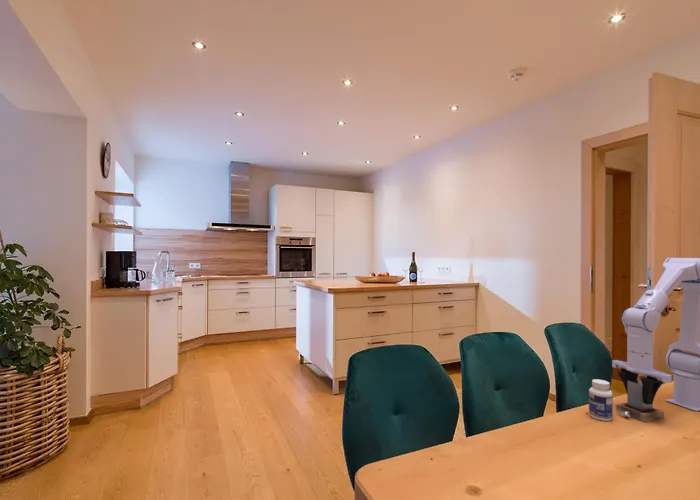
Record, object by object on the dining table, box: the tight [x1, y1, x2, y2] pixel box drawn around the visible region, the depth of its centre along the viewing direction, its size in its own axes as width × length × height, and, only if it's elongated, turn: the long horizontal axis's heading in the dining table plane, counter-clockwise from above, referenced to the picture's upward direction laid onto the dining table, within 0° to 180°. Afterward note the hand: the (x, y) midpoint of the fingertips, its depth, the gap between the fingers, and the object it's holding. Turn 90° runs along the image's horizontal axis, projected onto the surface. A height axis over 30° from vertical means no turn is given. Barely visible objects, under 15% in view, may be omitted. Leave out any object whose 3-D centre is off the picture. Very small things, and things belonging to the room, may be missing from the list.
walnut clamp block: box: [616, 402, 665, 423], centre depth 103 cm, size 10×7×2 cm
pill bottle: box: [588, 378, 614, 422], centre depth 101 cm, size 5×5×10 cm
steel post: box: [626, 378, 654, 413], centre depth 103 cm, size 4×4×8 cm
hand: (639, 400), depth 103 cm, fingers closed on steel post, 4 cm apart
